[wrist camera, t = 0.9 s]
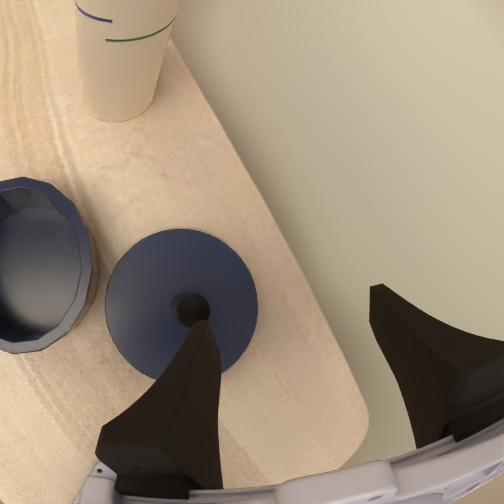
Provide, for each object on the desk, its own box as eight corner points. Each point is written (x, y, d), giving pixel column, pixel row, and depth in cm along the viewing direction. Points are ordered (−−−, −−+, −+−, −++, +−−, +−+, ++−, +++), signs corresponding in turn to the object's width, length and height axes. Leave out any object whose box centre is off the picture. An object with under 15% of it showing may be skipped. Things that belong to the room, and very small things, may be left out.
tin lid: (203, 405, 25) (219, 425, 21) (77, 325, 22) (67, 332, 18) (277, 287, 29) (304, 286, 25) (164, 201, 26) (173, 184, 22)
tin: (52, 369, 21) (36, 387, 16) (-42, 282, 18) (-73, 279, 13) (126, 254, 24) (126, 245, 19) (28, 173, 21) (11, 147, 16)
